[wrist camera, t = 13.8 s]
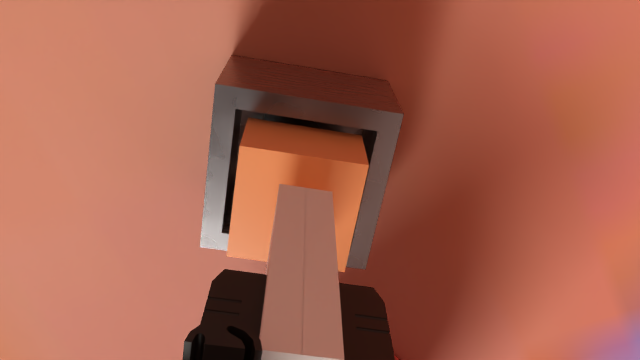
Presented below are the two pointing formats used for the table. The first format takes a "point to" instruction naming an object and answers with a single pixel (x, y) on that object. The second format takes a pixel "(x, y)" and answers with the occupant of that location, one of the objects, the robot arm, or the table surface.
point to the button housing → (304, 110)
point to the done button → (293, 181)
